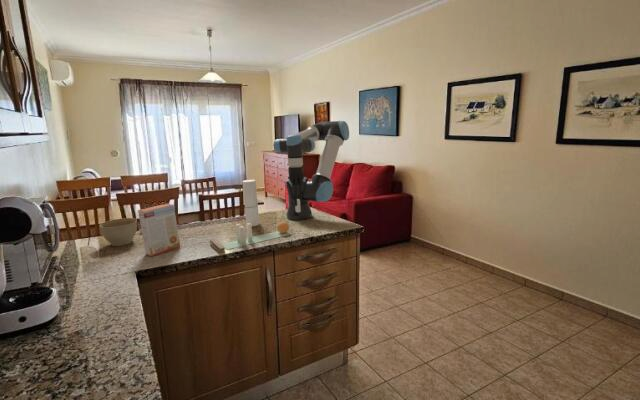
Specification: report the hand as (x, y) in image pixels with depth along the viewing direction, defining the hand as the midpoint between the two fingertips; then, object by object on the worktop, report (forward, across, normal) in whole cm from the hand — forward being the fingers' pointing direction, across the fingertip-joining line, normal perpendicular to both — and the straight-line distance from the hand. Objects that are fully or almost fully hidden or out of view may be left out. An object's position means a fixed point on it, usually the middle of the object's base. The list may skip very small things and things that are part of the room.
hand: (298, 211), depth 178 cm
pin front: (+10, +27, 0) cm, 29 cm away
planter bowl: (+11, +79, -40) cm, 89 cm away
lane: (+10, +23, 0) cm, 25 cm away
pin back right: (+10, +31, -3) cm, 33 cm away
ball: (+7, +9, 0) cm, 11 cm away
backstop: (+10, +43, 0) cm, 44 cm away
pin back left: (+10, +31, +2) cm, 33 cm away
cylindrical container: (+10, +15, -26) cm, 32 cm away
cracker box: (+11, +64, -14) cm, 67 cm away
